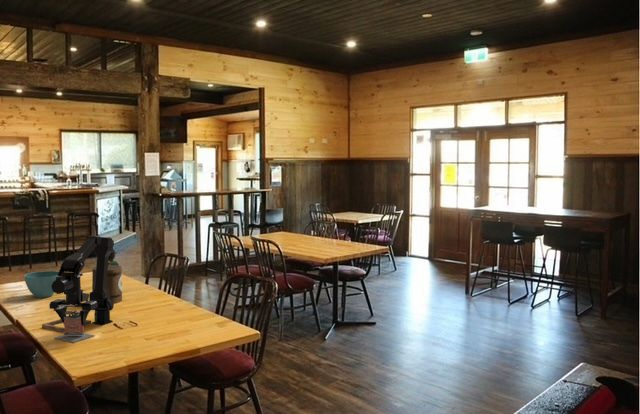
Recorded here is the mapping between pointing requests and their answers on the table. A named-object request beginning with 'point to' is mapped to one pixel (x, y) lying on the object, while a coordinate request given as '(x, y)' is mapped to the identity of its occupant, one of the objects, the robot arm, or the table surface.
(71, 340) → the charcoal mat
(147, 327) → the table surface
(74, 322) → the lighter
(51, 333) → the table surface
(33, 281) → the teal bowl
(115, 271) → the wooden container
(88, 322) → the square wooden frame
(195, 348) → the table surface
